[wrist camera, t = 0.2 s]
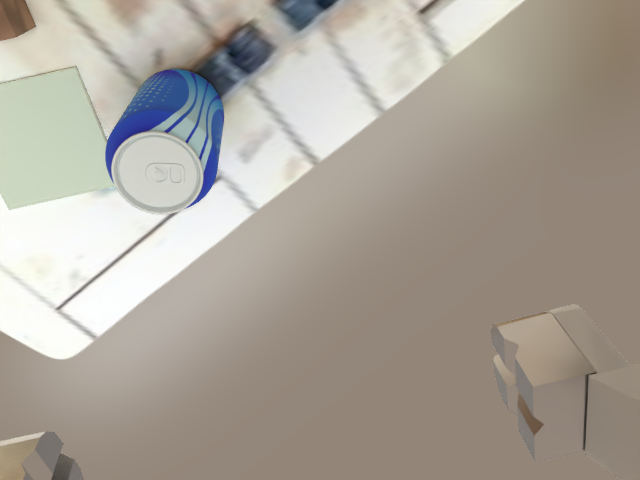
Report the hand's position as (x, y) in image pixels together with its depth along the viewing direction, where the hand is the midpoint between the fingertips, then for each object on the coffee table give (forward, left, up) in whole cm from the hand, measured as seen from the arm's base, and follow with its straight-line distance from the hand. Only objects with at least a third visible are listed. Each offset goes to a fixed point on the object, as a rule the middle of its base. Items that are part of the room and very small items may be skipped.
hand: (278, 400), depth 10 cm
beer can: (+7, -9, -48) cm, 49 cm away
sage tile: (+7, -23, -48) cm, 54 cm away
